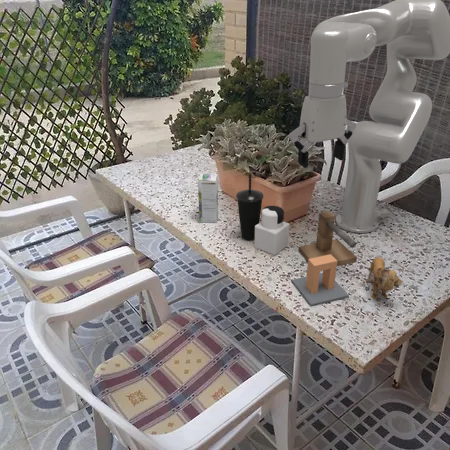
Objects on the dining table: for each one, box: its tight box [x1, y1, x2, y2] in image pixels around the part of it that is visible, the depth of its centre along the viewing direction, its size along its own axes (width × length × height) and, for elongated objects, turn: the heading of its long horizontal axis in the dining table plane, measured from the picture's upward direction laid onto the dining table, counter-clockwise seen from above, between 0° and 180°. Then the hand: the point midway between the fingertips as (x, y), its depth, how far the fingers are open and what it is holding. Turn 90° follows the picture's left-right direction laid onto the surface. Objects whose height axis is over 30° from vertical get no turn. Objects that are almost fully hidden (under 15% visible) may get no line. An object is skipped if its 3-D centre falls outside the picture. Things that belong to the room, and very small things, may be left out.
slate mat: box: [291, 272, 350, 307], centre depth 102 cm, size 10×10×1 cm
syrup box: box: [197, 172, 219, 224], centre depth 131 cm, size 6×6×14 cm
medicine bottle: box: [254, 205, 291, 256], centre depth 117 cm, size 7×7×12 cm
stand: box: [298, 210, 358, 267], centre depth 110 cm, size 12×16×12 cm
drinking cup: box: [235, 173, 264, 242], centre depth 120 cm, size 8×8×20 cm
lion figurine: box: [365, 256, 404, 300], centre depth 100 cm, size 15×5×9 cm, turn 1°
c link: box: [306, 254, 338, 293], centre depth 100 cm, size 6×3×8 cm, turn 108°
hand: (320, 162), depth 102 cm, fingers open, 9 cm apart
